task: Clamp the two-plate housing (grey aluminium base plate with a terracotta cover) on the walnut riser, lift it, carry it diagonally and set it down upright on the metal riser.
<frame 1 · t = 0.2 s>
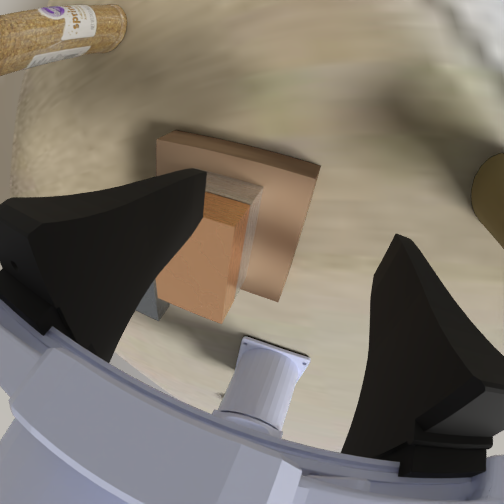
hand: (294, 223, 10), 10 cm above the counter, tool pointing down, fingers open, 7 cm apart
housing: (221, 226, 21), point 2 cm above the counter, touching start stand
olive tapered column: (503, 192, 15), on the counter
sprinkles bottle: (110, 28, 16), on the counter
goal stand: (126, 256, 31), on the counter
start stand: (233, 210, 23), on the counter
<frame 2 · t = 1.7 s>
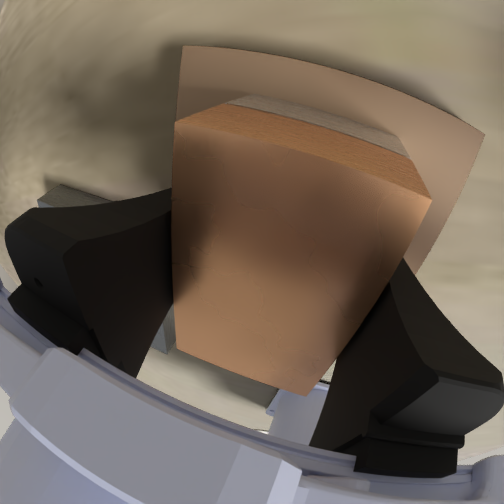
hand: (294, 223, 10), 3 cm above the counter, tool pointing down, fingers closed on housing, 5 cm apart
housing: (299, 211, 11), point 2 cm above the counter, touching gripper, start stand
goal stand: (118, 262, 21), on the counter
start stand: (309, 186, 13), on the counter
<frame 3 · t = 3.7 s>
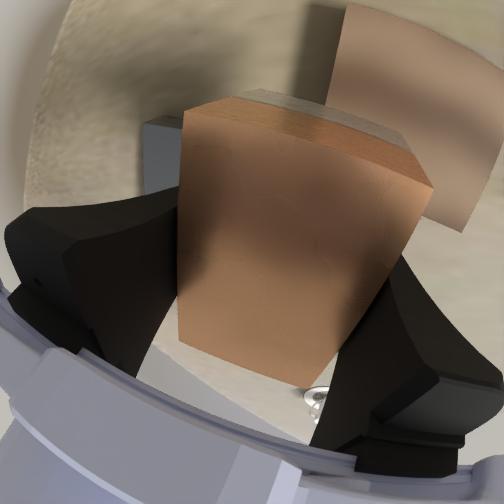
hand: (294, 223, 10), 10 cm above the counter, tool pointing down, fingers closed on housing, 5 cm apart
housing: (301, 205, 11), point 9 cm above the counter, touching gripper
teacup and saucer: (335, 405, 38), on the counter
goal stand: (218, 192, 23), on the counter
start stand: (413, 115, 15), on the counter
when the fingers open (4 cm above the counter, at t = 6.0 s): housing stays where it is, resting on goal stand.
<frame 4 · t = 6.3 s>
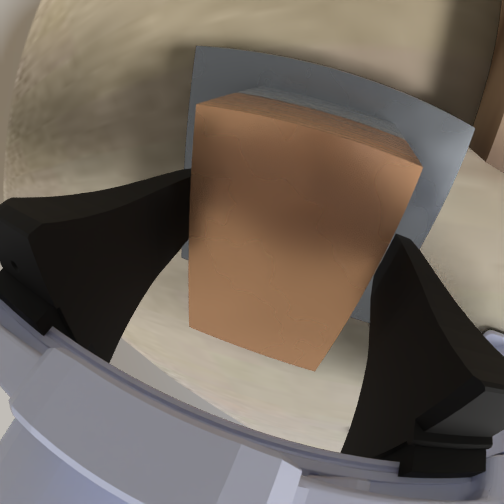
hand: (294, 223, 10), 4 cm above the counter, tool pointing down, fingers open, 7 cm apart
housing: (304, 195, 12), point 2 cm above the counter, touching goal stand
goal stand: (312, 178, 14), on the counter
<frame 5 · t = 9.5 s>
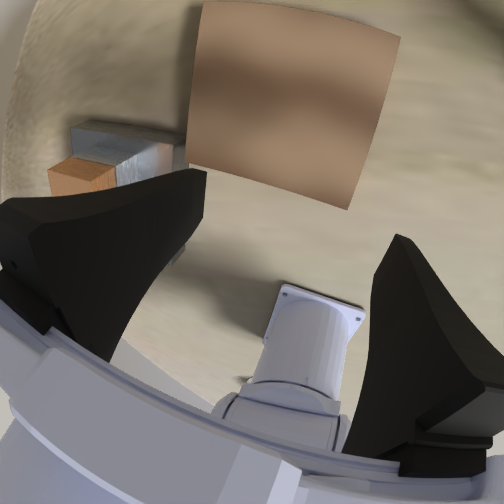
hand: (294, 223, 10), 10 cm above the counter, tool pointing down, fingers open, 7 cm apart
housing: (116, 193, 23), point 2 cm above the counter, touching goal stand
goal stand: (134, 183, 25), on the counter
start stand: (288, 94, 17), on the counter
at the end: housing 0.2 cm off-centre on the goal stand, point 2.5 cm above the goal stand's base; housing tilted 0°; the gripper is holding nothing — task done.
